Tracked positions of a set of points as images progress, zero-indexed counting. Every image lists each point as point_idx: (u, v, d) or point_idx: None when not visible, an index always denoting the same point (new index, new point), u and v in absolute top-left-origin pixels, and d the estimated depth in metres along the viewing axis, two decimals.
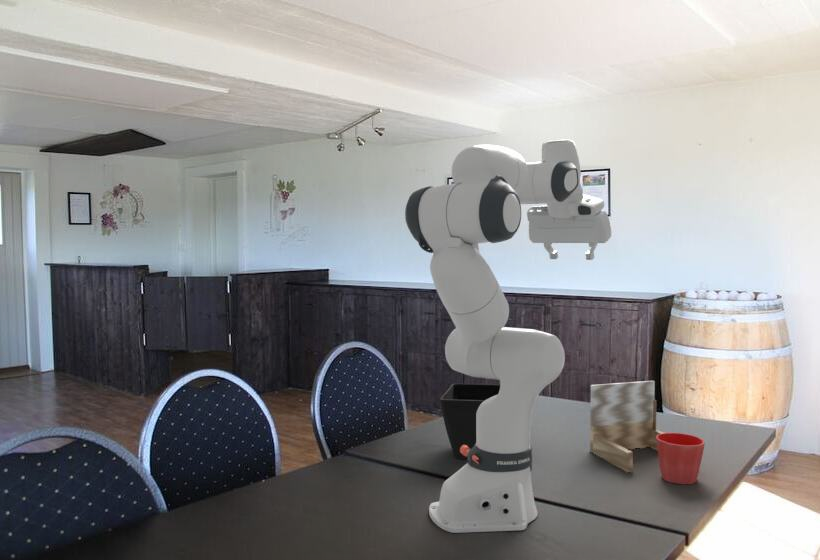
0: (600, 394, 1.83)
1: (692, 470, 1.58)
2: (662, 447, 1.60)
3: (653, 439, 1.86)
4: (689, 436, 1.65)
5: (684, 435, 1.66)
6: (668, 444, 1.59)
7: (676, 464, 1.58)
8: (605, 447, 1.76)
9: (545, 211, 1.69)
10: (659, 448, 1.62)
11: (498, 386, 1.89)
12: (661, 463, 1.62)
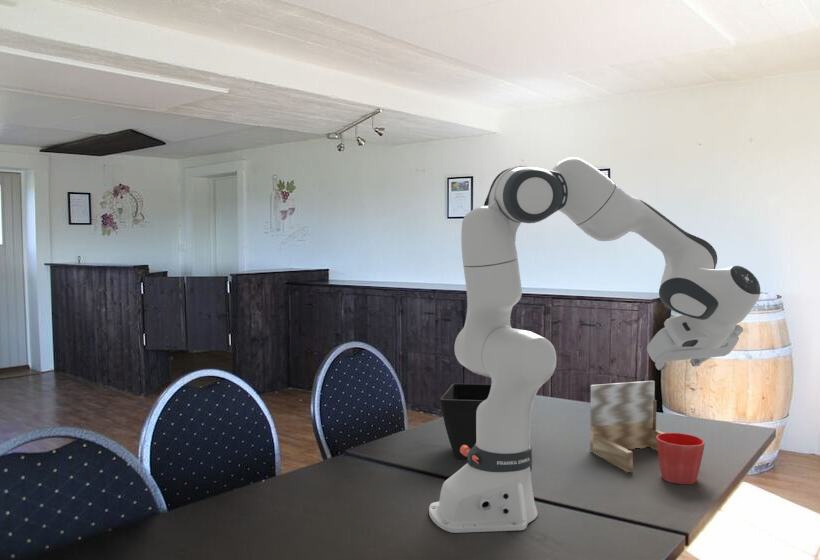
0: (600, 394, 1.83)
1: (692, 470, 1.58)
2: (662, 447, 1.60)
3: (653, 439, 1.86)
4: (689, 436, 1.65)
5: (684, 435, 1.66)
6: (668, 444, 1.59)
7: (676, 464, 1.58)
8: (605, 447, 1.76)
9: None
10: (659, 448, 1.62)
11: None
12: (661, 463, 1.62)
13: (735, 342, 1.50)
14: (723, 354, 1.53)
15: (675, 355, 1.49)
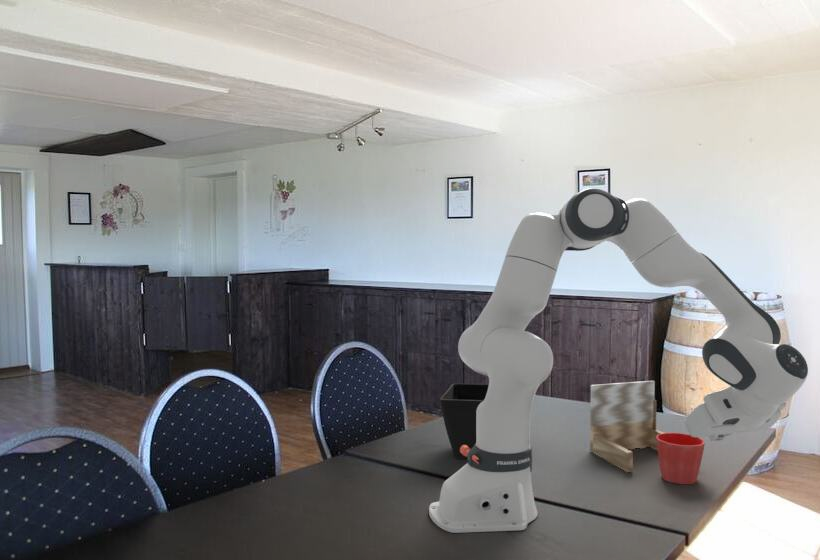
0: (600, 394, 1.83)
1: (692, 470, 1.58)
2: (662, 447, 1.60)
3: (653, 439, 1.86)
4: (689, 436, 1.65)
5: (684, 435, 1.66)
6: (668, 444, 1.59)
7: (676, 464, 1.58)
8: (605, 447, 1.76)
9: None
10: (659, 448, 1.62)
11: None
12: (661, 463, 1.62)
13: (777, 418, 1.44)
14: (764, 428, 1.47)
15: (714, 431, 1.43)
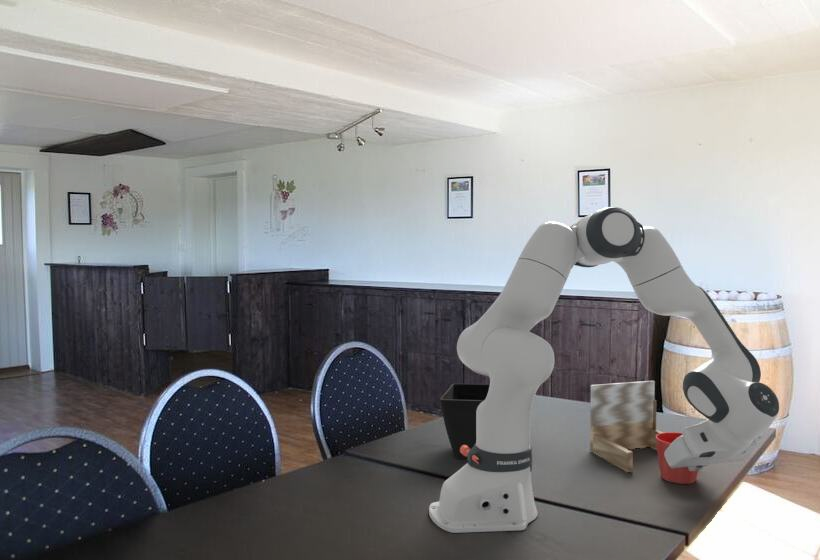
0: (600, 394, 1.83)
1: None
2: (662, 447, 1.60)
3: (653, 439, 1.86)
4: None
5: None
6: (667, 444, 1.59)
7: None
8: (605, 447, 1.76)
9: None
10: (658, 447, 1.62)
11: None
12: (660, 462, 1.62)
13: (752, 450, 1.51)
14: (741, 459, 1.54)
15: (692, 462, 1.50)
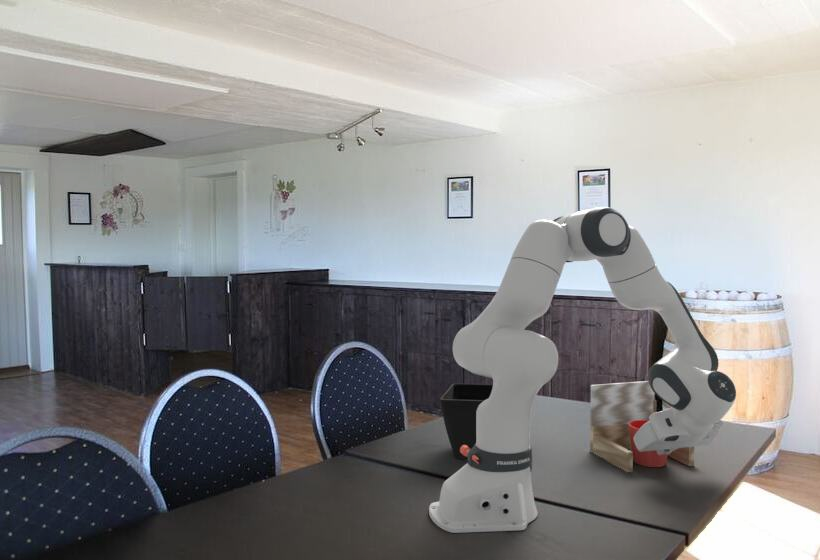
0: (600, 394, 1.83)
1: None
2: (633, 433, 1.72)
3: None
4: None
5: None
6: (638, 429, 1.71)
7: None
8: (605, 447, 1.76)
9: None
10: (630, 433, 1.74)
11: None
12: (632, 447, 1.74)
13: (715, 435, 1.63)
14: (705, 444, 1.66)
15: (659, 446, 1.61)
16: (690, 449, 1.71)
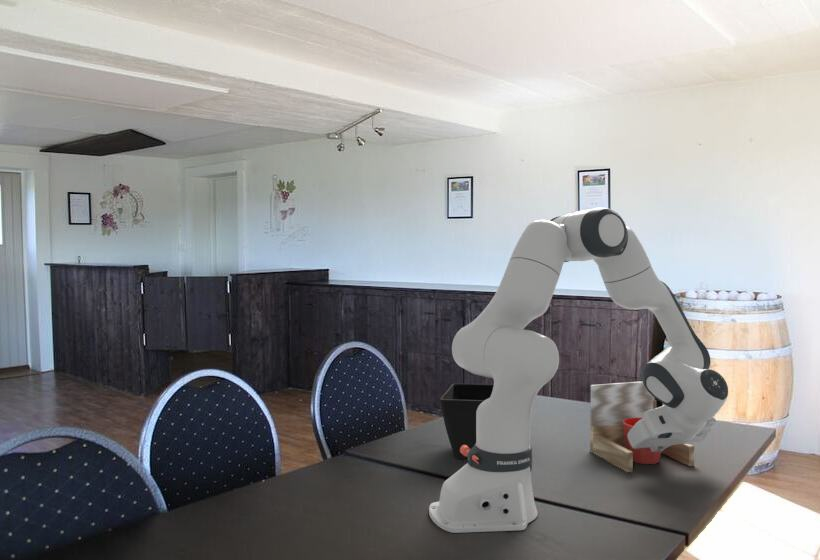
0: (600, 394, 1.83)
1: None
2: (627, 430, 1.75)
3: None
4: None
5: None
6: (631, 427, 1.73)
7: None
8: (605, 447, 1.76)
9: None
10: (624, 431, 1.76)
11: None
12: (626, 445, 1.76)
13: (708, 432, 1.65)
14: (698, 441, 1.68)
15: (652, 443, 1.64)
16: (690, 449, 1.71)
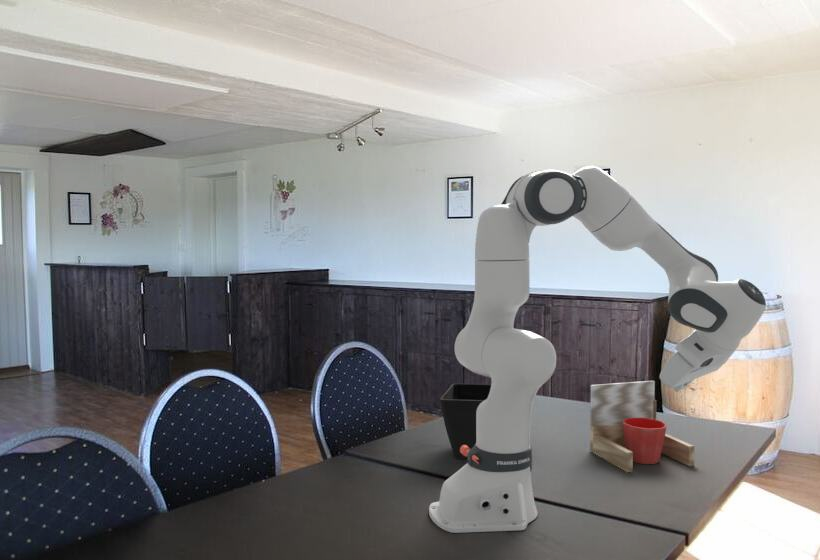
0: (600, 394, 1.83)
1: (654, 451, 1.72)
2: (627, 430, 1.75)
3: None
4: (654, 421, 1.79)
5: (650, 420, 1.80)
6: (631, 427, 1.73)
7: (639, 445, 1.73)
8: (605, 447, 1.76)
9: None
10: (624, 431, 1.76)
11: None
12: (626, 445, 1.76)
13: None
14: (717, 368, 1.57)
15: (687, 377, 1.48)
16: (690, 449, 1.71)
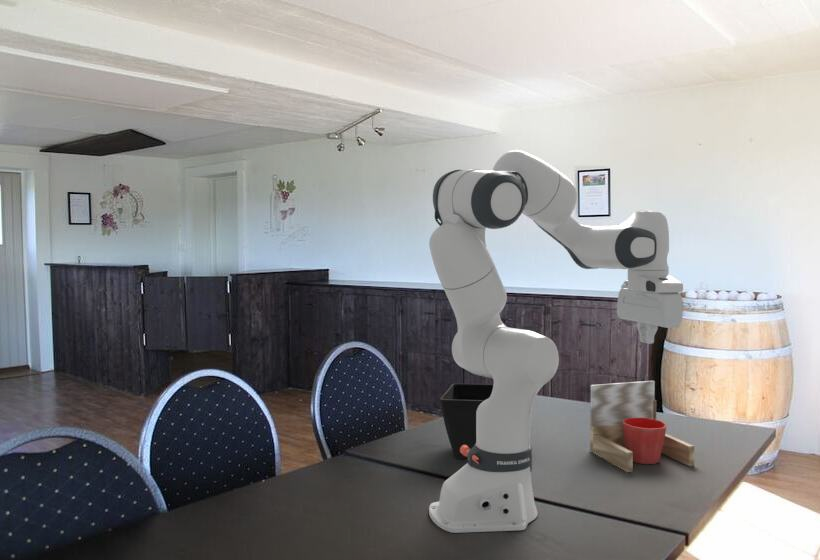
0: (600, 394, 1.83)
1: (654, 451, 1.72)
2: (627, 430, 1.75)
3: None
4: (654, 421, 1.79)
5: (650, 420, 1.80)
6: (631, 427, 1.73)
7: (639, 445, 1.73)
8: (605, 447, 1.76)
9: None
10: (624, 431, 1.76)
11: None
12: (626, 445, 1.76)
13: None
14: None
15: None
16: (690, 449, 1.71)
